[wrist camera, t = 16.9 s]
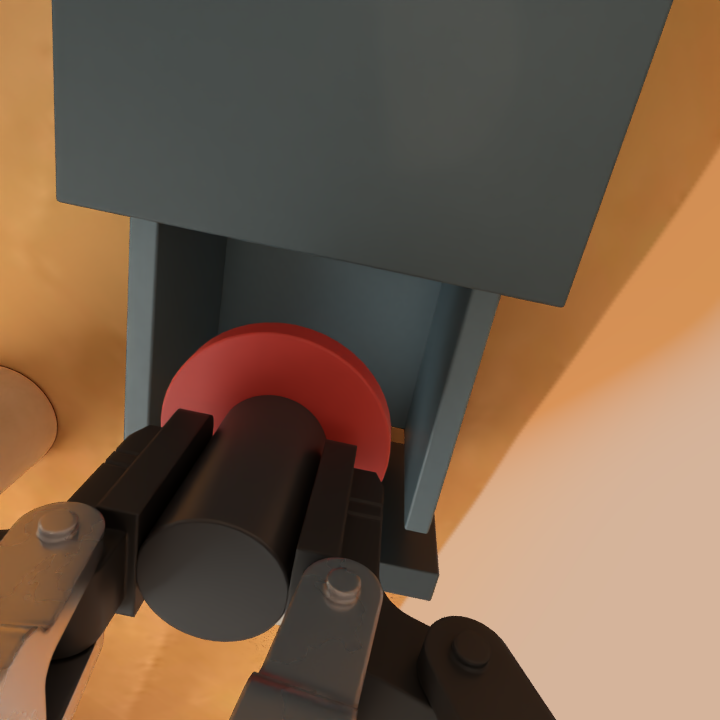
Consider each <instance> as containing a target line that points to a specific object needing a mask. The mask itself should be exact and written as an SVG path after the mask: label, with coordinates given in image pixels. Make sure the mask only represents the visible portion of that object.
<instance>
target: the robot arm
mask: <svg viewBox="0 0 720 720" xmlns="http://www.w3.org/2000/svg"><path fill="white" fill-rule="evenodd" d="M213 427H214V418H213V415H210V414H205V413H200V412H196V411H191V410H186V409H181V408H179V409H178V410H177V411H176V412H175V413H174V414H173V415H172V416H171V418H170V419H169V420H168V421H167V422H166V423H165V425H164V426H163V427H158V426H153V425H148V426H146V427H144V428H142V429H140V430H138V431H136V432H134V433H132V434H130V435H129V436H128V437H127V438H126V439H125V440H124V441H123V442H122V443H121V444H120V445H119V446H118V448H117V449H116V452H115V451H114V452H113V453H112V454H111V455H110V456H109V457H108V458H107V459H106V462H105V463H103V464H102V465H101V466H100V467H99V468H98V469H97V470H96V471H95V472H94V473H93V474H92V475H91V476H90V477H89V478H88V480H87V481H86V482H85V483H84V484H83V485H82V486H81V487H80V488H79V489H78V490H77V491H76V492H75V493H74V494H73V496H72V497H71V498H70V499H69V500H68V501H67V502H58V503H52V504H48V505H44V506H41V507H38V508H36V509H34V510H32V511H30V512H28V513H26V514H25V515H23V516H22V517H21V518H20V519H18V520H17V521H16V523H15V524H14V525H13V526H12V527H11V529H8V530H0V720H72V717H73V715H74V713H75V710H76V708H77V706H78V703H79V701H80V699H81V696H82V694H83V692H84V689H85V687H86V684H87V682H88V680H89V677H90V675H91V673H92V670H93V668H94V666H95V663H96V661H97V659H98V656H99V654H100V652H101V649H102V646H103V639H104V630H105V629H106V627H107V625H108V624H109V622H110V620H111V619H112V617H113V616H114V614H115V613H117V614H121V615H126V616H131V617H135V615H136V613H137V611H138V610H139V608H140V606H141V604H142V603H143V601H144V598H143V596H142V594H141V593H140V590H139V588H138V585H137V581H136V565H137V555H138V551H139V549H140V547H141V545H142V543H143V542H144V540H145V539H146V537H147V536H148V534H149V533H150V531H151V530H152V528H153V527H154V525H155V524H156V522H157V520H158V519H159V517H160V516H161V514H162V513H163V511H164V510H165V508H166V507H167V505H168V504H169V502H170V501H171V499H172V498H173V496H174V494H175V493H176V491H177V490H178V488H179V487H180V485H181V484H182V482H183V481H184V479H185V478H186V476H187V475H188V473H189V471H190V470H191V468H192V467H193V465H194V464H195V462H196V461H197V459H198V458H199V456H200V455H201V453H202V452H203V450H204V449H205V447H206V445H207V444H208V442H209V441H210V439H211V438H212V436H213ZM356 452H357V445H352V444H347V443H343V442H338V441H333V440H328V439H326V441H325V445H324V449H323V452H322V456H321V460H320V464H319V467H318V471H317V475H316V478H315V482H314V486H313V490H312V493H311V497H310V501H309V504H308V508H307V512H306V516H305V519H304V523H303V527H302V530H301V534H300V538H299V542H298V545H297V549H296V555H295V560H294V565H293V571H292V576H291V581H290V587H289V592H288V597H287V603H286V608H285V613H284V618H283V620H282V623H281V625H280V627H279V629H278V632H277V634H276V636H275V638H274V641H273V643H272V645H271V647H270V650H269V652H268V654H267V657H266V659H265V661H264V663H263V665H262V668H261V670H260V671H259V673H256V672H253V673H252V675H251V676H250V677H249V679H248V681H247V683H246V685H245V687H244V689H243V691H242V693H241V695H240V697H239V700H238V702H237V704H236V706H235V708H234V710H233V713H232V715H231V717H230V719H229V720H556V719H555V718H554V716H553V715H552V713H551V712H550V710H549V709H548V707H547V706H546V704H545V703H544V701H543V700H542V698H541V697H540V695H539V694H538V692H537V691H536V689H535V688H534V686H533V685H532V683H531V682H530V680H529V679H528V677H527V676H526V674H525V673H524V671H523V670H522V668H521V667H520V665H519V664H518V662H517V661H516V660H515V658H514V656H513V655H512V653H511V652H510V650H509V649H508V647H507V646H506V644H505V643H504V642H503V641H502V639H501V638H500V637H499V636H498V635H497V634H496V633H495V632H494V631H492V630H491V629H489V628H488V627H487V626H485V625H484V624H482V623H480V622H478V621H476V620H473V619H470V618H467V617H462V616H449V617H444V618H441V619H439V620H438V621H436V622H434V624H432V625H431V626H428V625H425V624H424V623H422V622H420V621H418V620H416V619H414V618H412V617H410V616H409V615H407V614H405V613H404V612H402V611H401V610H400V609H398V608H397V607H396V606H395V605H394V604H393V603H392V602H391V601H390V600H389V599H388V597H387V596H386V594H385V593H384V591H383V589H382V586H381V583H380V579H379V568H380V552H381V536H382V519H383V505H384V489H385V488H384V486H383V485H382V483H381V481H380V479H379V477H378V475H377V473H376V472H372V471H367V470H362V469H358V468H354V464H355V458H356Z"/></svg>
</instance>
